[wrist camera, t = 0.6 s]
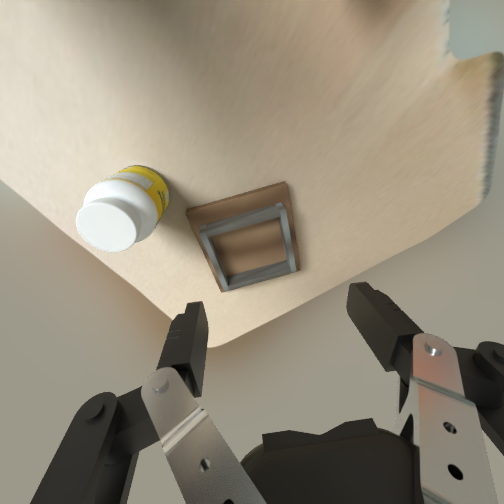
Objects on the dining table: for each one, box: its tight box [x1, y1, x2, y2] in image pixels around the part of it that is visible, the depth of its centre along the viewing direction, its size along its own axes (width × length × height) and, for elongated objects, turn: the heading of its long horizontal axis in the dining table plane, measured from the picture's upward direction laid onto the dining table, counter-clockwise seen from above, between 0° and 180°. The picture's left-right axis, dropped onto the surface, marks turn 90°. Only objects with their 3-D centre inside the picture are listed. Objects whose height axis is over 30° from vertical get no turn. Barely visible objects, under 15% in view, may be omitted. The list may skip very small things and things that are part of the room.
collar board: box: [186, 182, 300, 293], centre depth 33 cm, size 15×14×4 cm
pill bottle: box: [76, 165, 170, 252], centre depth 23 cm, size 6×6×12 cm
